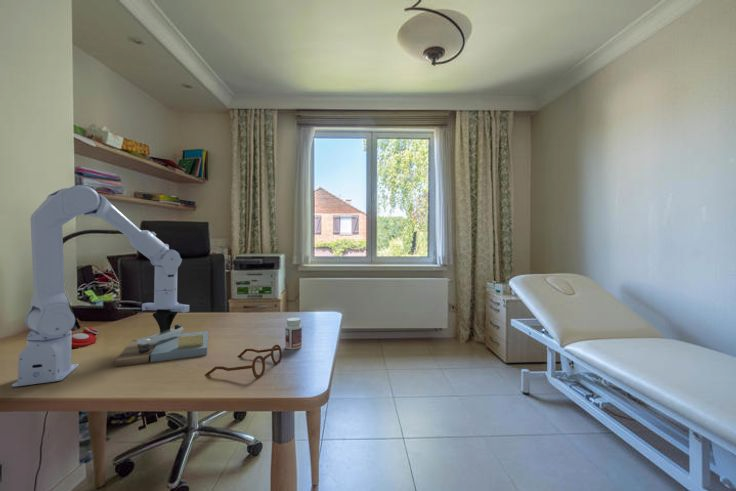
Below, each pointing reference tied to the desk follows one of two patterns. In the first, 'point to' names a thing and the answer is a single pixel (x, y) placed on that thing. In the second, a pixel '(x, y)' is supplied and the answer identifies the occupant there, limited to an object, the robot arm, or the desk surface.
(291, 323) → the pill bottle
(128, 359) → the jamb board
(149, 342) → the bar
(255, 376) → the glasses
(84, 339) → the tracker holder
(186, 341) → the brass keeper
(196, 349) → the door panel
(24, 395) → the desk surface
